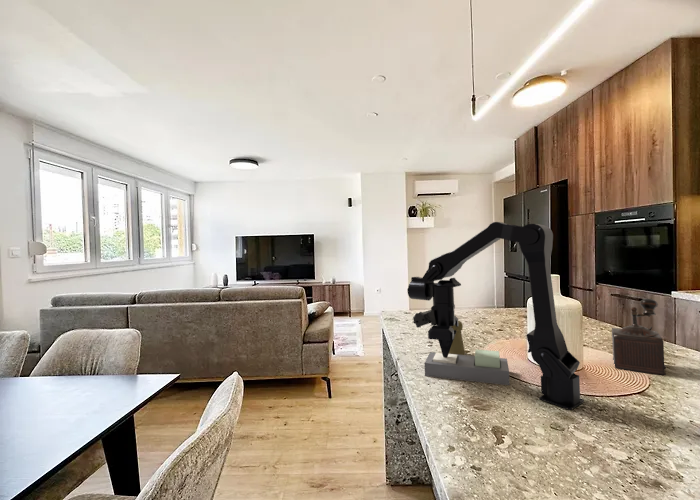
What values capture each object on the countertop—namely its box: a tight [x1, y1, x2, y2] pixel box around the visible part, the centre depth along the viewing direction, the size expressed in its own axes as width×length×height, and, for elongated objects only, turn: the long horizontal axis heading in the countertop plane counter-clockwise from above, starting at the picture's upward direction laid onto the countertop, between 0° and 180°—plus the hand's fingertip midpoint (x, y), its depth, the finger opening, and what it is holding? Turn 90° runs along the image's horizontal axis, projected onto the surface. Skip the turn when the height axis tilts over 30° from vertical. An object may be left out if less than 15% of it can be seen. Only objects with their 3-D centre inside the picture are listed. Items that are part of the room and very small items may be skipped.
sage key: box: [474, 349, 501, 368], centre depth 89 cm, size 6×6×3 cm
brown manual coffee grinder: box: [611, 298, 667, 376], centre depth 93 cm, size 16×11×18 cm
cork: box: [449, 320, 466, 355], centre depth 108 cm, size 6×6×11 cm
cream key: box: [433, 352, 457, 364], centre depth 93 cm, size 6×6×3 cm
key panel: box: [424, 351, 511, 386], centre depth 91 cm, size 21×10×4 cm, turn 67°
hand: (445, 357), depth 93 cm, fingers closed, pressing on cream key
